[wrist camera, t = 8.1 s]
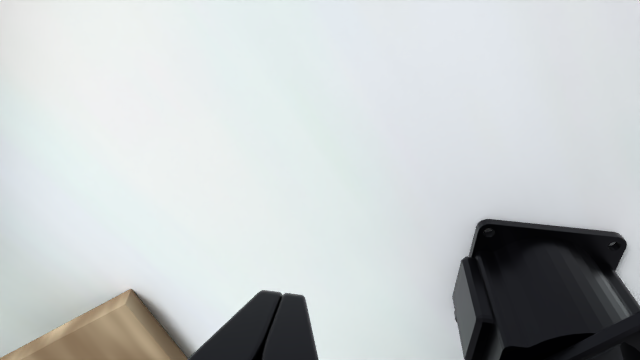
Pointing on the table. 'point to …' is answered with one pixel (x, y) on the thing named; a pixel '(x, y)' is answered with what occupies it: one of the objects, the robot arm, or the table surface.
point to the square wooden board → (105, 336)
